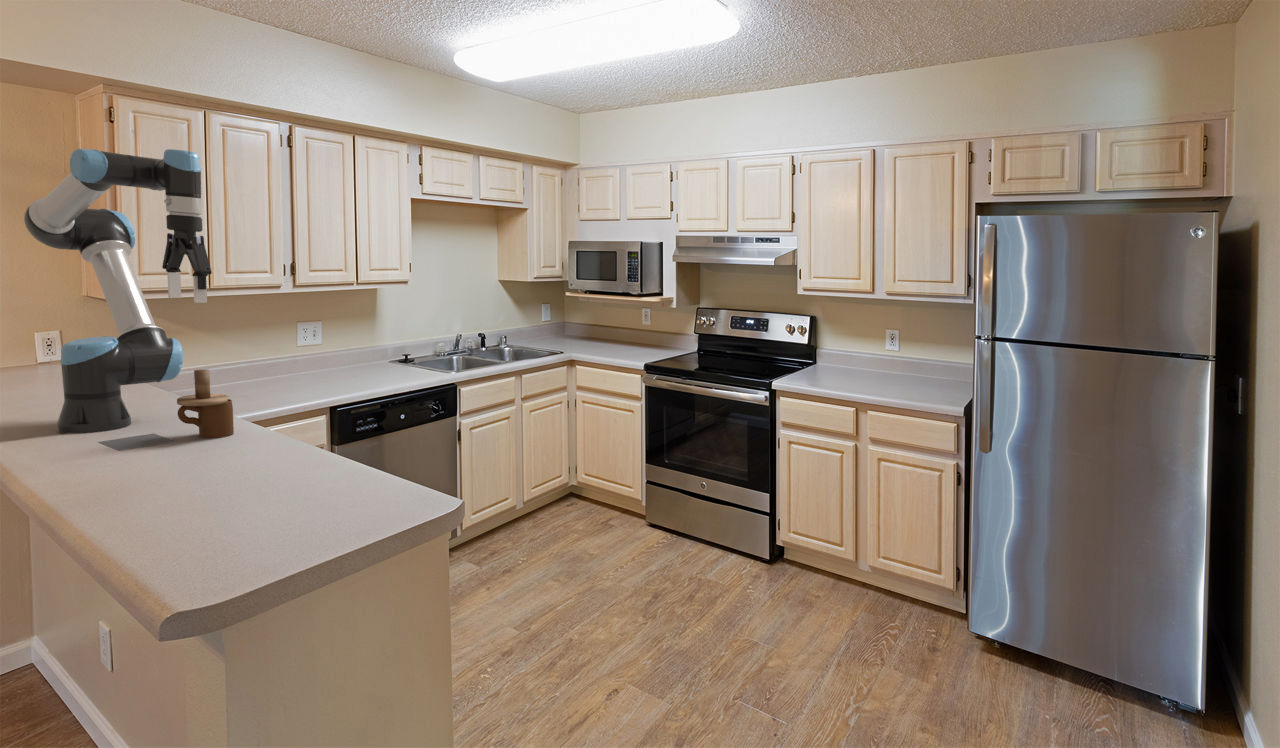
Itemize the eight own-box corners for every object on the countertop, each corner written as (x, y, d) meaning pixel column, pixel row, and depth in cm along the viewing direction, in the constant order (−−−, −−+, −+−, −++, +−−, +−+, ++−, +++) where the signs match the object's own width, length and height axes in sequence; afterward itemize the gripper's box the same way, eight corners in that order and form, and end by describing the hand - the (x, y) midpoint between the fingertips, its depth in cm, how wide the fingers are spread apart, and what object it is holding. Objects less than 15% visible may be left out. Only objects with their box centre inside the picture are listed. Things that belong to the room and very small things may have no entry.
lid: (168, 401, 176) (167, 369, 175) (215, 396, 185) (213, 365, 184) (190, 408, 170) (188, 375, 169) (237, 401, 179) (235, 370, 178)
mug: (181, 444, 172) (179, 406, 171) (176, 438, 178) (174, 401, 176) (237, 438, 180) (235, 402, 179) (230, 432, 186) (228, 397, 184)
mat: (97, 444, 169) (97, 441, 169) (153, 435, 179) (153, 433, 179) (120, 453, 163) (119, 450, 162) (176, 443, 173) (176, 441, 172)
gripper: (144, 212, 179) (148, 296, 183) (192, 214, 166) (195, 305, 169) (177, 215, 186) (180, 295, 189) (225, 217, 172) (228, 304, 176)
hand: (187, 300), depth 179 cm, fingers open, 13 cm apart
